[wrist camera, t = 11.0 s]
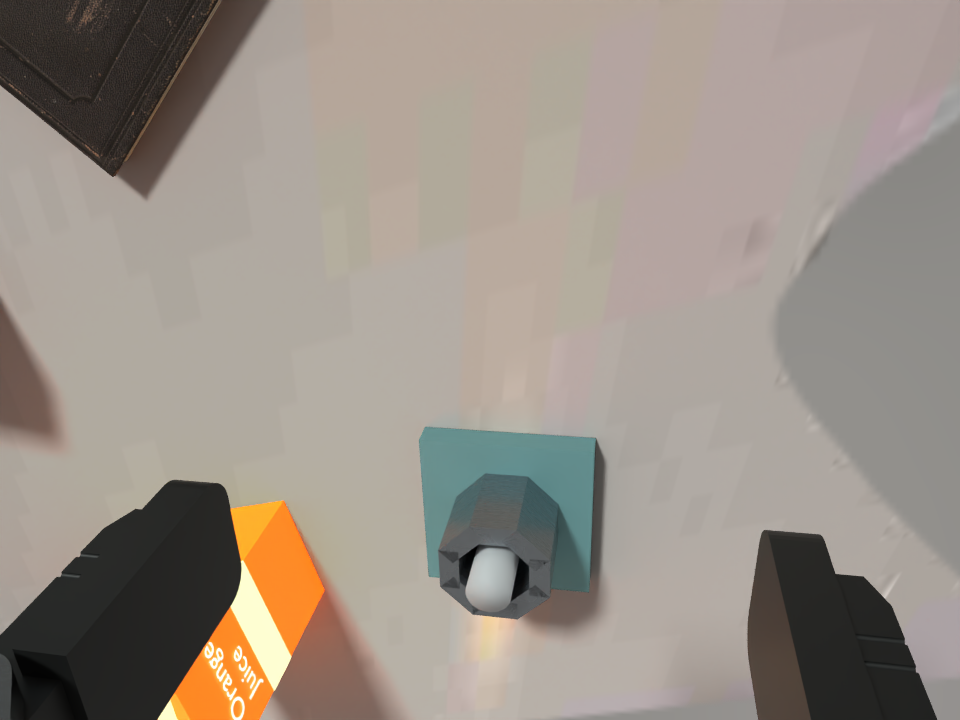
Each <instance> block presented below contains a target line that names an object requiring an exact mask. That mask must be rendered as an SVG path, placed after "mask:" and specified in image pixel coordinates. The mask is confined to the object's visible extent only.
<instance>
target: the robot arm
mask: <svg viewBox="0 0 960 720" xmlns="http://www.w3.org/2000/svg"><path fill="white" fill-rule="evenodd" d="M80 553H81V555H80V557H76V558H75V559H74V560H73V561H72V562H71V563H70V564H69V565H68V566H67V567H66V568H65V569H64V570H63V571H62V575H61V577H56V578H55V579H54V580H53V581H52V582H51V583H50V584H49V585H48V586H47V588H46V589H45V590H44V591H43V592H42V593H41V594H40V595H39V596H38V597H37V598H36V599H35V600H34V601H33V602H32V603H31V604H30V605H29V606H28V607H27V608H26V609H25V610H24V611H23V612H22V613H21V614H20V615H19V616H18V617H17V618H16V620H15V621H14V622H13V623H12V624H11V625H10V626H9V627H8V628H7V629H6V630H5V631H4V632H3V633H2V634H1V635H0V720H157V719H158V718H159V716H160V715H161V713H162V712H163V710H164V709H165V707H166V706H167V704H168V702H169V701H170V699H171V698H172V696H173V695H174V693H175V692H176V690H177V689H178V687H179V685H180V684H181V682H182V681H183V679H184V678H185V676H186V675H187V673H188V672H189V670H190V668H191V667H192V665H193V664H194V662H195V661H196V659H197V658H198V656H199V655H200V653H201V651H202V650H203V648H204V647H205V645H206V644H207V642H208V641H209V639H210V638H211V636H212V634H213V633H214V631H215V630H216V628H217V627H218V625H219V624H220V622H221V621H222V619H223V617H224V616H225V614H226V613H227V611H228V610H229V608H230V607H231V605H232V603H233V602H234V600H235V598H236V595H237V592H238V589H239V586H240V581H241V572H242V566H241V558H240V553H239V548H238V543H237V538H236V533H235V529H234V524H233V519H232V514H231V509H230V504H229V499H228V495H227V492H226V490H225V488H224V487H223V486H222V485H221V484H219V483H207V482H195V481H183V480H172V481H169V482H168V483H166V484H165V485H164V486H163V487H162V488H161V490H160V491H159V492H158V493H157V494H156V495H155V496H154V497H153V498H152V499H151V500H150V501H149V502H148V503H147V505H146V506H145V507H144V508H143V509H142V510H140V509H135V510H133V511H132V512H130V513H128V514H127V515H125V516H123V517H122V518H120V519H118V520H117V521H115V522H114V523H112V524H110V525H109V526H107V527H105V528H104V529H103V530H102V531H101V532H100V533H99V534H98V535H97V536H96V537H95V538H94V539H93V540H92V541H91V542H90V543H89V544H88V545H87V546H86V547H85V548H84V549H83V550H82V551H81V552H80ZM748 657H749V665H750V671H751V677H752V684H753V690H754V696H755V702H756V709H757V715H758V720H937V718H936V716H935V713H934V710H933V708H932V705H931V703H930V700H929V698H928V696H927V693H926V690H925V688H924V685H923V683H922V680H921V678H920V675H919V673H916V669H915V668H916V665H915V663H914V660H913V658H912V655H911V653H910V650H909V648H908V645H905V638H904V636H903V633H902V631H901V628H900V626H899V623H898V621H897V618H896V616H895V613H894V611H893V608H892V606H891V605H890V604H889V603H888V602H887V601H886V600H885V599H884V597H883V596H882V595H881V594H880V593H879V592H878V591H877V590H876V589H875V588H874V587H873V586H872V585H871V584H870V583H869V582H868V581H867V580H866V579H865V578H864V577H862V576H851V575H840V574H835V571H834V568H833V565H832V562H831V559H830V556H829V553H828V550H827V547H826V544H825V541H824V539H823V537H822V536H821V535H819V534H807V533H795V532H783V531H771V530H764V531H763V532H762V535H761V538H760V543H759V549H758V556H757V562H756V569H755V576H754V582H753V589H752V596H751V602H750V609H749V616H748Z"/></svg>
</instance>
